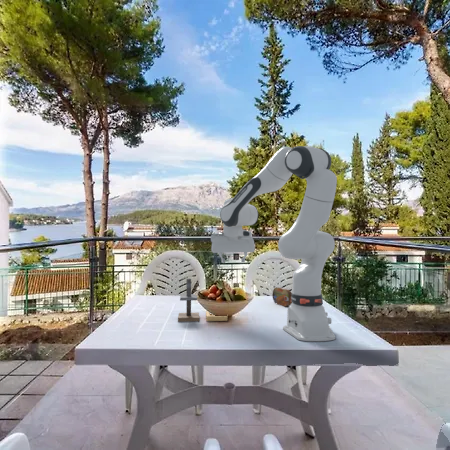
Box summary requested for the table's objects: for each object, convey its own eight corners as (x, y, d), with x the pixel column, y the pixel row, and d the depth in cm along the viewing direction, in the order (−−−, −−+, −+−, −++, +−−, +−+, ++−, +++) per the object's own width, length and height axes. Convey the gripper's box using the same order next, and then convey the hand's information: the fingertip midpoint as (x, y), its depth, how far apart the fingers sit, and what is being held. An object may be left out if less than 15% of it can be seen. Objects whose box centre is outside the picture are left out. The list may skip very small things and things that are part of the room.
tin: (271, 302, 200) (271, 286, 200) (276, 301, 202) (277, 285, 202) (288, 308, 187) (288, 291, 187) (293, 307, 188) (293, 290, 188)
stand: (199, 321, 163) (199, 280, 162) (177, 321, 162) (177, 280, 162) (199, 315, 172) (199, 277, 171) (178, 316, 171) (178, 277, 171)
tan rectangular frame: (227, 320, 164) (227, 316, 164) (206, 321, 163) (206, 316, 163) (224, 312, 178) (224, 308, 178) (205, 312, 177) (205, 308, 177)
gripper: (211, 233, 174) (211, 263, 174) (255, 232, 176) (255, 262, 176) (210, 232, 181) (210, 262, 181) (252, 232, 182) (253, 261, 182)
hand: (233, 262), depth 178 cm, fingers open, 8 cm apart
